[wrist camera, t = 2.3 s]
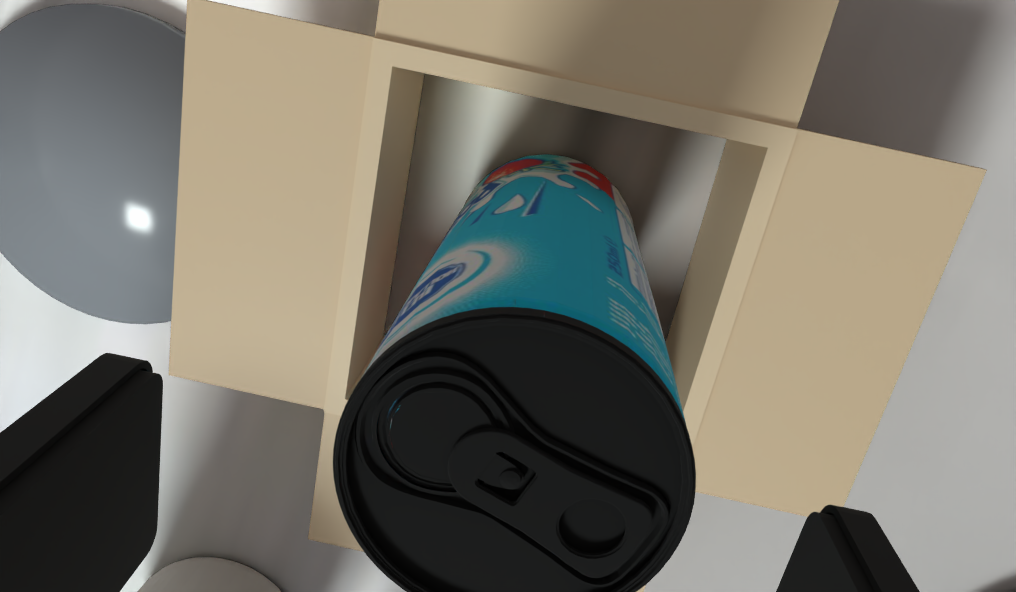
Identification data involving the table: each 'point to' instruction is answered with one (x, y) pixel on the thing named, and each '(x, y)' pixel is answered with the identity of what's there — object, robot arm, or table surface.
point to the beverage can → (522, 403)
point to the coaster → (92, 157)
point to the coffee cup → (208, 577)
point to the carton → (588, 84)
